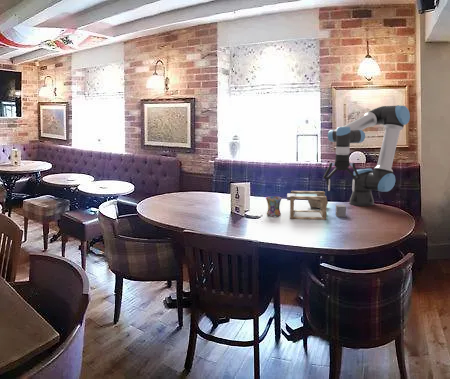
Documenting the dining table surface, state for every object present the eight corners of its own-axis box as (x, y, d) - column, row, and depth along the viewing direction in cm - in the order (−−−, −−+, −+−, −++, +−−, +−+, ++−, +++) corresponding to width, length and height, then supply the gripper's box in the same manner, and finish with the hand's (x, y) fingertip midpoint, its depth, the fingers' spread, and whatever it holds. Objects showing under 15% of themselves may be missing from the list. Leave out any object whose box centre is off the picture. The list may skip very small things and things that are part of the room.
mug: (283, 217, 234) (283, 199, 232) (267, 217, 234) (267, 199, 232) (279, 212, 246) (279, 195, 244) (264, 212, 246) (264, 195, 244)
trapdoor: (316, 196, 240) (316, 193, 240) (317, 201, 227) (317, 197, 227) (287, 196, 243) (287, 192, 243) (287, 200, 230) (287, 197, 230)
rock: (325, 195, 262) (330, 193, 255) (323, 211, 261) (328, 209, 253) (305, 191, 262) (309, 189, 254) (303, 207, 260) (307, 205, 252)
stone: (344, 214, 237) (344, 204, 236) (345, 216, 232) (346, 206, 231) (335, 214, 238) (335, 204, 237) (336, 216, 233) (336, 206, 232)
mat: (319, 213, 241) (319, 212, 241) (321, 218, 229) (321, 217, 229) (294, 212, 244) (294, 211, 244) (294, 217, 231) (294, 216, 231)
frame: (323, 212, 243) (324, 191, 241) (326, 219, 226) (326, 197, 224) (290, 211, 247) (290, 190, 245) (290, 218, 229) (290, 196, 227)
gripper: (364, 153, 230) (362, 190, 234) (319, 153, 235) (318, 189, 238) (366, 154, 223) (364, 192, 227) (320, 154, 227) (319, 191, 231)
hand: (341, 190), depth 232 cm, fingers open, 13 cm apart
